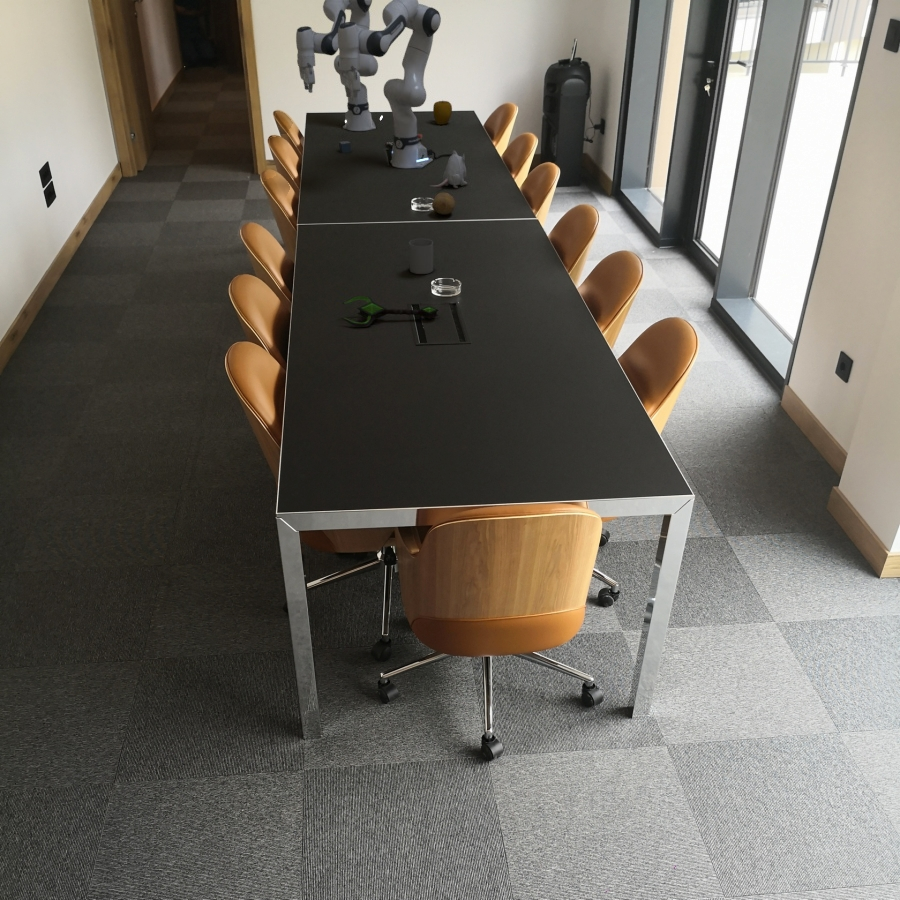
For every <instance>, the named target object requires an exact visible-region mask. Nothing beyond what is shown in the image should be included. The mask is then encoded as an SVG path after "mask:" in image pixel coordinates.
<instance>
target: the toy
mask: <svg viewBox="0 0 900 900" xmlns="http://www.w3.org/2000/svg"><path fill="white" fill-rule="evenodd" d="M451 154H453V155H451V156H449V158H448V161H447V163H446V166H445V170H444V171H443V177H442V179H443V181H442V182H441V183H439V184H436V185H435V184H433V185H432V184H430V185H428V186H429V187H434V188H440V187H443V186H446V187H448V186H449V185H451V186H453V188H455V189H459V187H458V186H461V187H462V186H467V185H468V182H467V181H465V180H466V178H467V168H466V156H465V153H463V154H462V155H459V154H458V153H457V151H456V150H455V149H453V150H452V153H451Z"/></svg>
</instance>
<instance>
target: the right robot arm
mask: <svg viewBox="0 0 900 900" xmlns="http://www.w3.org/2000/svg"><path fill="white" fill-rule="evenodd" d="M381 15H382V22H383V24H384V25H385V28H384V29H382V30H372V29H369V30H365V29H362V28H360V27H358V26H357V25H356V23H355V22H350V21H345V23H342V24H341V25H340V26H339V28H338V47H339V48H338V50H339V51H338V52H339V53H338V55H339V61H338V67H339V72H340V75H339V79H340V83H341V85H343V86H344V90H345V97H347V98H348V97H351V93H350V90H352V101H357V91H360V90H361V83H362V82H361V76H360V75H359V72H357V70H359V69H360V56H359V53H360V54H366V55H373V56H374V57H375V58H376V57H377V58H382V57H384V56H385V55H386V54H387V53H388V51H389V49H390V47H391V46H392V45H393V43H394V42H395V41H396V40H397V39H398V38H399V37H400V36H401V34H402V33H403V32H404V31H405V29H409V30H412V34H411V35H410V37H409V40H408V42H407V46H406V49H405V52H404V55H403V57H402V60H401V61H402V62H401V66H402V68H403V72H404V73H403V79H402V78H391V79H388V80H387V81H386V82H385V83H384V85H383V95H384V98H386V100H387V102H388V104H389V106H390V110H391V113H392V119H393V133H394V134H393V138H392V140H393V145H392V148H391V150H392V151H391V160H390V161H389V162H390V164H391V166H392V167H394V168H398V169H416V168H417V169H421V168H424V167H426V166H427V165H428V164H430V163H432V162H433V159H435V160H437V159H440V158H441V157H450V156H451V155H453V154H452V153H445V154H439V155H438V156H437V157H436V152H435V151H434V150H433V149H432V148H430V147H426V146H424V145H423V144H422V143H421V142H420V140H421V139H422V138H423V134H422V133H418V120H417V116H416V115H415V113H414V112H413V108H419V107H422V106H423V105H424V104H425V103H426V101H427V92H426V88H425V83H424V79H425V78H424V77H425V70H426V67H427V64H428V60H429V57H430V54H431V51H432V47H433V42H434V34H435V33H436V32H437V31H438V30H439V28H440V26H441V19H442V18H441V13H440V12H439V10H437V9H436V8H435V7H432V6H428V5H426V4H421V3H419V0H391V1H389V2H388V3H387V4H386V5H385V7H384V8H383V9H382V13H381ZM360 82H361V83H360ZM429 156H433V158H431V157H429Z"/></svg>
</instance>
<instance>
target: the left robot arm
mask: <svg viewBox="0 0 900 900" xmlns="http://www.w3.org/2000/svg"><path fill="white" fill-rule="evenodd" d="M372 2H373V0H324V1H323V5H322V11H323V14H324V15H325V16H326V18H327V20H329V21H331V22H333V23H332V27H331V30H330V31H329V32H326V33H323V32H316V31H315V30H313V28H312V27H311V26H306V25H305V26H300V27H298V28H297V29H296V32H295V33H296V34H295V41H296V42H295V43H296V49H297V55H296V57H297V59H296V61H297V66H298V70H299V71H298V72H299V76H300V79H301V80H302V81H303V85H304V90H306V91H307V90H308V94H312V93H313V88H314V87H313V86H314V85H315V84H316V76H315V69H314V67H316V54H320V55H327V56H330V57H331V56H334V55H335V54H337V52H339V51H338V50H339V47H338V28H339V26H340V25H341V24H342V23H345V22H347V15H346V10H347V11H350V18H349V22H355V23H356V25H357V26H358V27H360V28H362V29H365V30H371V29H370V27H371V14H370V8H371V5H372ZM359 56H360V69H359V70H357V72H359V75H360V77H365V78H367V77H374V76H375V75H376V74H377V72H378V70H379V63H378V60H377V58H376V56H373V55H366V54H360V53H359ZM338 61H339V54H337V55H336V56H335V58H334V60H333V68H334V69H335V72H336V73H337V74H338V75H339V76H340V72H339V67H338ZM360 83H361V90H360V91H357V101H352V90H350V93H351V97H347V103H346V104H347V105H346V106H347V107H346V108H347V111H346V112H345V117H344V119H345V120H344V123H345V125H342V129H344V130H347V131H352V132H366V131H371V130H376V127H377V126H376V124H375V122H374V120H373V118H372V113H371V111H370V105H369V101H368V99H369V98H368V87H367V86H366V85H365V84H364V82H361V81H360ZM382 119H383V115H381V116H380V118H379V120H380V121H381V120H382Z"/></svg>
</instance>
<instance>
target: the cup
mask: <svg viewBox="0 0 900 900" xmlns="http://www.w3.org/2000/svg"><path fill="white" fill-rule="evenodd" d="M408 253H409V272H411V273H412V274H416V275H426V274H430V273H432V272H434V241H433V240H431V239H428V238H422V237H421V238H420V237H419V238H414V239H411V240H410V241H409V242H408Z"/></svg>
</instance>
